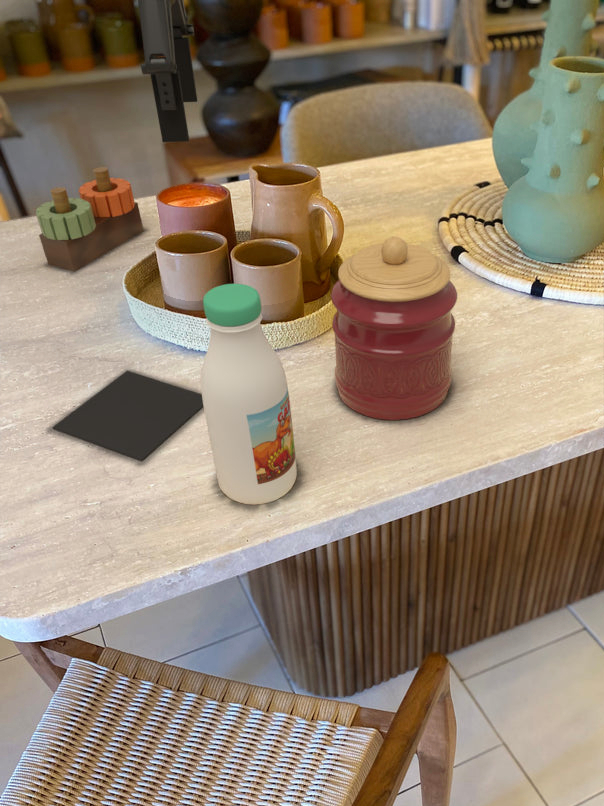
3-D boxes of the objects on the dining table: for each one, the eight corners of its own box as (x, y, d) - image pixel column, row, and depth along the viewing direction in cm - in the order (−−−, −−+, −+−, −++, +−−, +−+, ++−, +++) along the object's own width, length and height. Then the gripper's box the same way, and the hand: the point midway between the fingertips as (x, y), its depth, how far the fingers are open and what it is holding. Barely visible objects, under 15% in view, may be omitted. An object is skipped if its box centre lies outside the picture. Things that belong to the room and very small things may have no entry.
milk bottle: (231, 516, 72) (196, 327, 58) (209, 467, 77) (172, 283, 63) (308, 493, 74) (292, 306, 60) (282, 447, 79) (261, 265, 65)
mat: (53, 430, 82) (52, 427, 81) (127, 373, 89) (127, 370, 89) (142, 462, 78) (141, 459, 77) (212, 400, 85) (211, 397, 85)
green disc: (31, 234, 107) (24, 213, 105) (68, 215, 111) (62, 194, 109) (70, 244, 104) (64, 222, 102) (106, 224, 109) (101, 203, 107)
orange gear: (74, 212, 112) (68, 191, 110) (107, 194, 117) (102, 174, 115) (112, 221, 110) (107, 200, 108) (144, 203, 114) (140, 182, 112)
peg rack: (74, 272, 108) (54, 201, 101) (48, 265, 110) (26, 195, 103) (144, 231, 118) (129, 164, 111) (118, 225, 119) (102, 159, 112)
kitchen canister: (449, 358, 91) (460, 212, 79) (450, 425, 82) (462, 270, 70) (341, 355, 92) (335, 209, 80) (329, 421, 82) (320, 267, 70)
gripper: (170, -112, 62) (209, 158, 77) (192, -136, 80) (219, 86, 95) (76, -111, 62) (132, 161, 76) (119, -136, 80) (158, 88, 94)
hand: (181, 120), depth 86 cm, fingers open, 13 cm apart
